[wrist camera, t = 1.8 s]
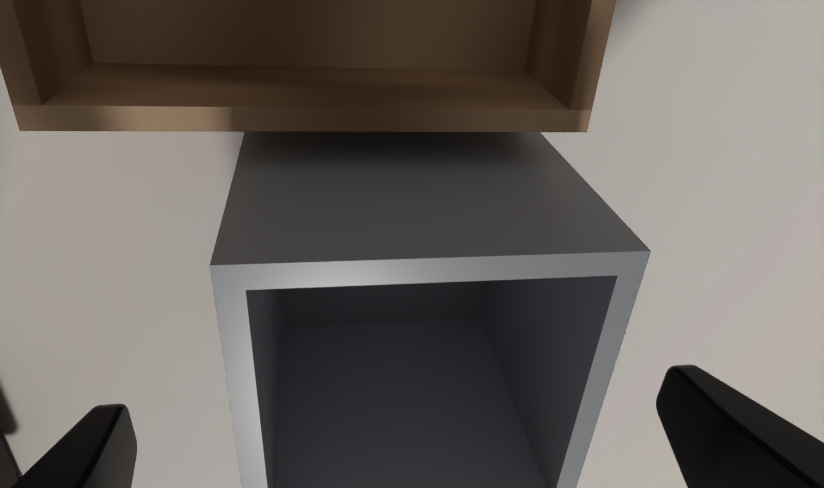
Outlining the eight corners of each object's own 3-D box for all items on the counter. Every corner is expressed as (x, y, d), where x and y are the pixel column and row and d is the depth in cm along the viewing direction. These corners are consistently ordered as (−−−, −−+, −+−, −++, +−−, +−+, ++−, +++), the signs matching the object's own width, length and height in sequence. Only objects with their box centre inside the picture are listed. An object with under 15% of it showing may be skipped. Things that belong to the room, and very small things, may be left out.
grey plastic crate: (270, 330, 15) (250, 545, 10) (250, 110, 12) (210, 265, 7) (488, 319, 16) (568, 512, 11) (521, 112, 13) (651, 251, 8)
